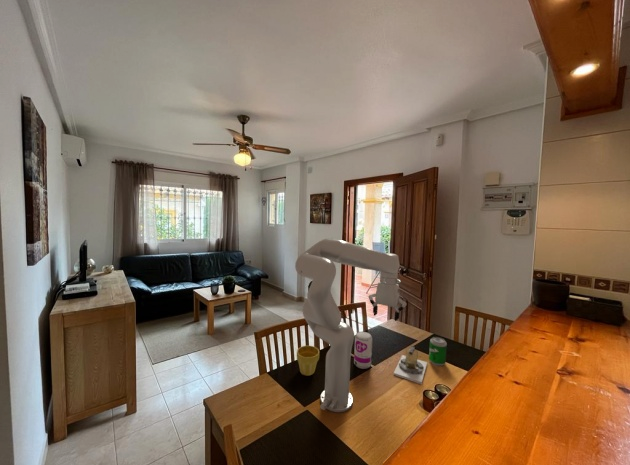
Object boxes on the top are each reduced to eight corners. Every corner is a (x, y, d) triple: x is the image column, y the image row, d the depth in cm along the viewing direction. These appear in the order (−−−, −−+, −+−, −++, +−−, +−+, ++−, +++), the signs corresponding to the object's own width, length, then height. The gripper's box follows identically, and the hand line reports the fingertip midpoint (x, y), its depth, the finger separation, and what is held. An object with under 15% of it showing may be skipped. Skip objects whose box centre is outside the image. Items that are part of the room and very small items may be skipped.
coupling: (417, 366, 126) (418, 348, 125) (415, 372, 121) (416, 353, 120) (406, 362, 129) (407, 345, 128) (403, 368, 124) (404, 350, 123)
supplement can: (366, 371, 122) (367, 340, 121) (350, 365, 127) (352, 335, 126) (373, 364, 129) (375, 334, 127) (358, 357, 134) (360, 329, 132)
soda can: (441, 359, 135) (443, 336, 134) (447, 367, 127) (449, 344, 126) (426, 358, 135) (428, 335, 134) (431, 366, 128) (433, 342, 127)
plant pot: (314, 380, 115) (315, 359, 114) (292, 375, 118) (293, 354, 117) (321, 367, 124) (322, 347, 124) (301, 362, 128) (301, 343, 127)
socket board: (421, 384, 114) (421, 379, 114) (393, 374, 120) (393, 370, 120) (427, 364, 130) (427, 359, 130) (402, 356, 136) (402, 352, 136)
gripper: (409, 282, 119) (406, 319, 120) (372, 276, 128) (370, 310, 128) (406, 285, 112) (402, 324, 113) (367, 278, 121) (364, 315, 122)
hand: (385, 317), depth 121 cm, fingers open, 9 cm apart
